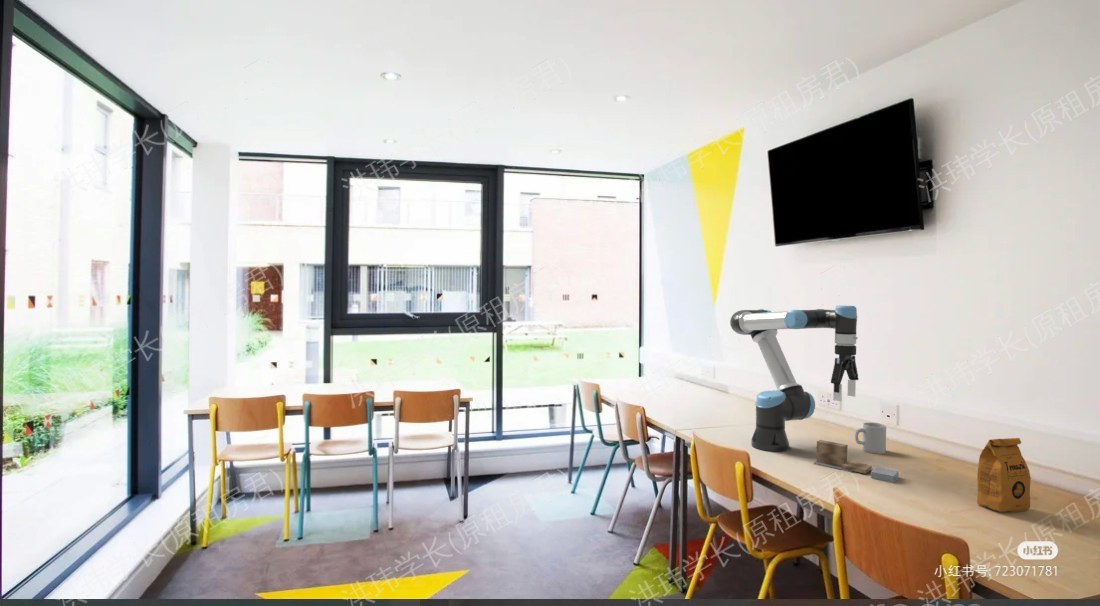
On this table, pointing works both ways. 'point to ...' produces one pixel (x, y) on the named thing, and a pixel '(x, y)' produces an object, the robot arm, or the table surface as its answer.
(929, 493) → the table surface
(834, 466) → the pad
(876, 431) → the mug
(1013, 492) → the coffee package
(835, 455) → the stepped wooden block
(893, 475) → the tile
